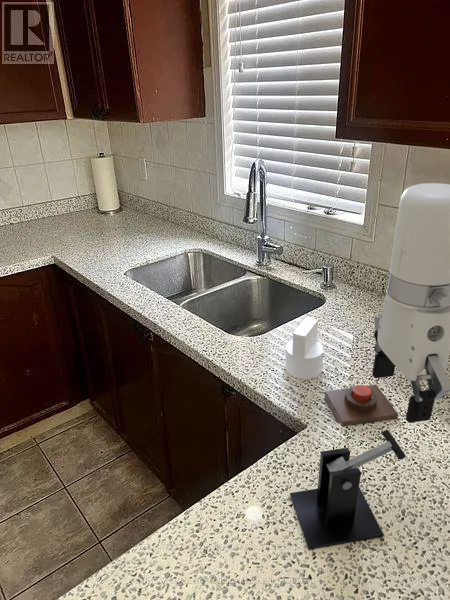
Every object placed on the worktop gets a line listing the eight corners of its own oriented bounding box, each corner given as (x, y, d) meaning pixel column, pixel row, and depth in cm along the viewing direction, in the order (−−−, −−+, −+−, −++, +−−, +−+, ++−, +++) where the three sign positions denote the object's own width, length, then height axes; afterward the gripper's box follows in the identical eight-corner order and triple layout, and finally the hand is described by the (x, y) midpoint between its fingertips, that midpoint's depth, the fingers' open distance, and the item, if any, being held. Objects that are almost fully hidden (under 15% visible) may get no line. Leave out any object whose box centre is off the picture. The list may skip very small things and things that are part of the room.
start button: (365, 390, 96) (366, 383, 95) (372, 401, 93) (374, 394, 92) (349, 392, 96) (350, 385, 95) (356, 403, 92) (357, 396, 92)
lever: (391, 435, 70) (386, 426, 69) (407, 459, 65) (403, 449, 64) (328, 466, 71) (322, 457, 70) (340, 492, 66) (334, 482, 65)
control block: (375, 392, 101) (377, 377, 99) (397, 422, 92) (399, 407, 90) (324, 398, 100) (325, 384, 98) (341, 430, 91) (343, 414, 89)
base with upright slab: (293, 354, 116) (295, 313, 110) (327, 363, 111) (330, 321, 106) (279, 373, 109) (280, 330, 103) (314, 383, 105) (317, 339, 99)
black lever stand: (356, 488, 78) (364, 432, 72) (382, 540, 69) (394, 482, 63) (289, 498, 76) (292, 443, 71) (308, 553, 68) (313, 495, 62)
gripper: (495, 317, 48) (461, 436, 56) (411, 259, 63) (393, 359, 71) (430, 324, 47) (405, 445, 55) (361, 263, 62) (349, 364, 70)
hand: (399, 396), depth 63 cm, fingers open, 9 cm apart
